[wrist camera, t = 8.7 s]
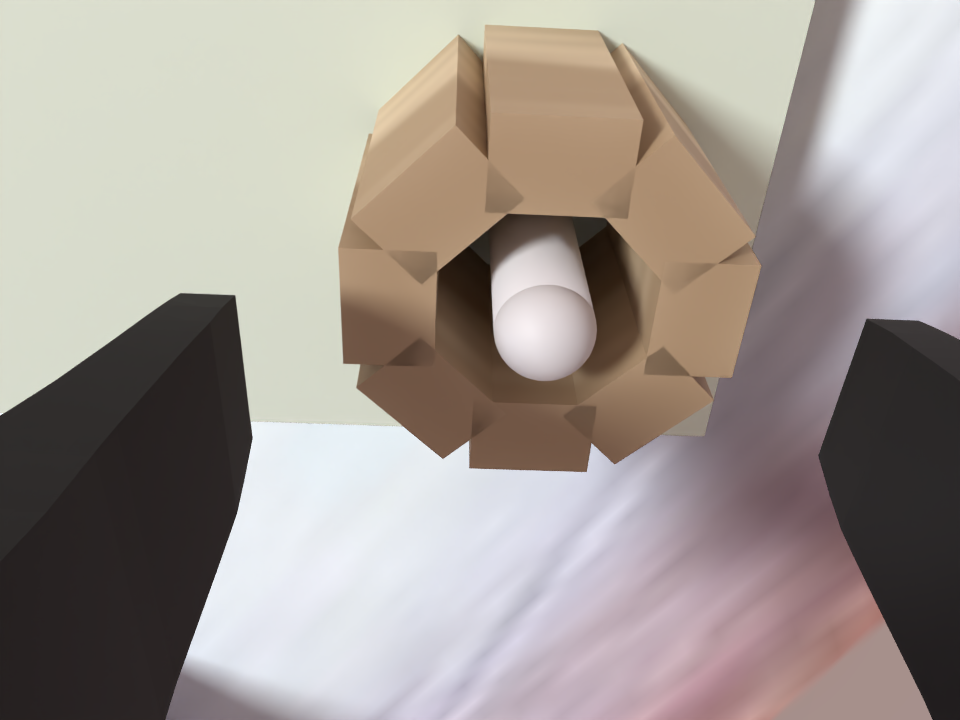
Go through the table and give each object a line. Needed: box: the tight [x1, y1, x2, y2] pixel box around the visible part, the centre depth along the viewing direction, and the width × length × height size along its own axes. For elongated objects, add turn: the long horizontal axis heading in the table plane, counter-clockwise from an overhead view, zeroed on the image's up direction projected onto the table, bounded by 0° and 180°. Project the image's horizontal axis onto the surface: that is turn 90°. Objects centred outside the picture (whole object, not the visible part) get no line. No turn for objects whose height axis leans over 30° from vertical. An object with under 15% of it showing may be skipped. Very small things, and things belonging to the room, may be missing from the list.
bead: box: [338, 25, 761, 472], centre depth 13 cm, size 5×5×4 cm
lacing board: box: [0, 0, 815, 436], centre depth 13 cm, size 10×17×6 cm, turn 87°
